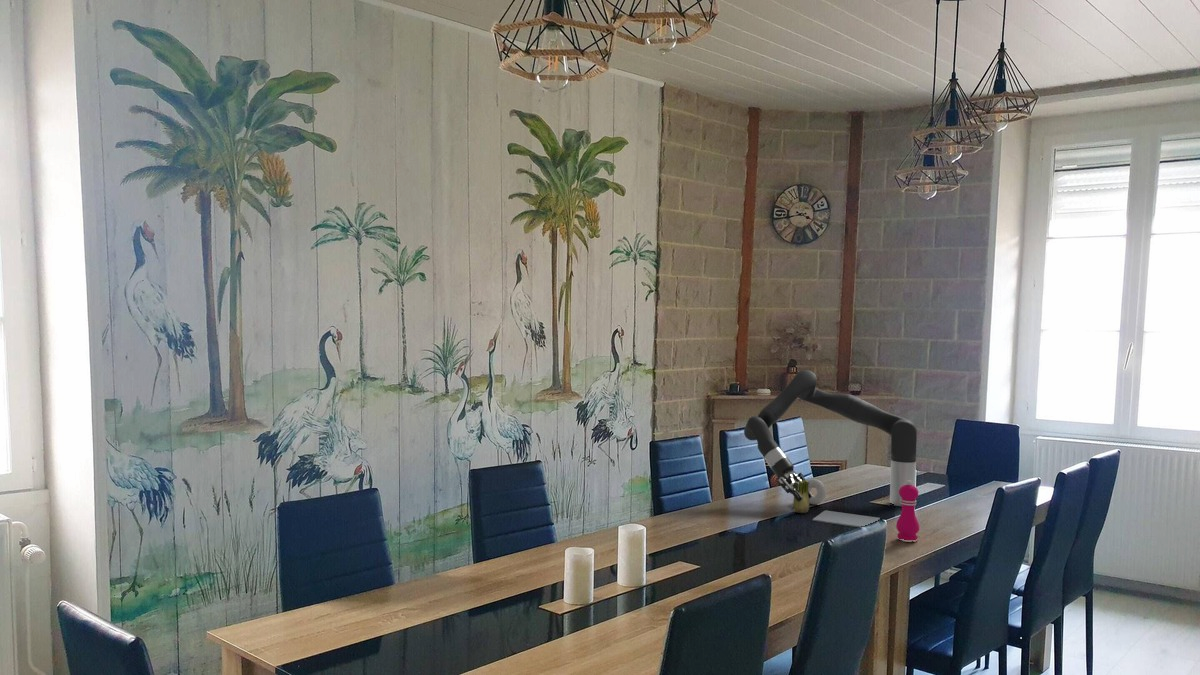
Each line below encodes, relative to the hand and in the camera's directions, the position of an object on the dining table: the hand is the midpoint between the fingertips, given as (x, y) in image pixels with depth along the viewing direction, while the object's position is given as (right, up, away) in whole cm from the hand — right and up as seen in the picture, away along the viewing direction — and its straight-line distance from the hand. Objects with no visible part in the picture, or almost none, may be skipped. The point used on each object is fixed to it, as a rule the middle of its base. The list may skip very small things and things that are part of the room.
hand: (805, 499), depth 312 cm
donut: (+7, -5, +15) cm, 18 cm away
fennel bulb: (-1, -6, +2) cm, 6 cm away
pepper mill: (+26, -7, -33) cm, 43 cm away
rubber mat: (+13, -6, -8) cm, 16 cm away
